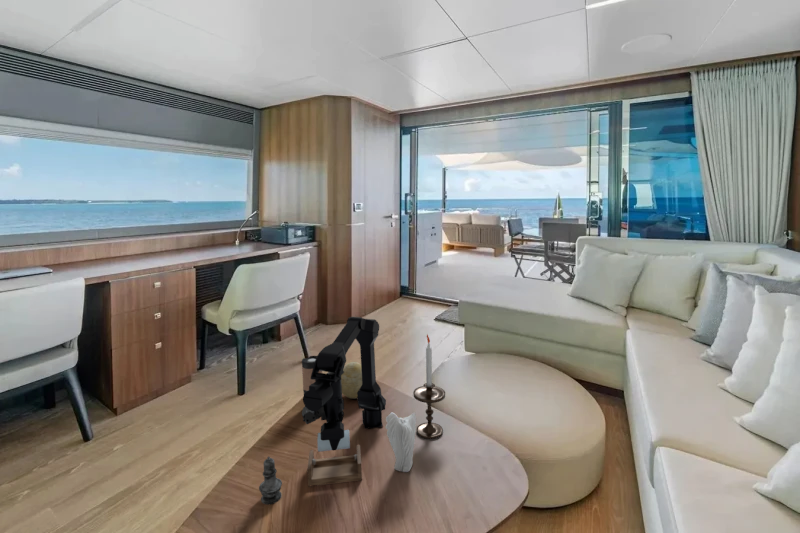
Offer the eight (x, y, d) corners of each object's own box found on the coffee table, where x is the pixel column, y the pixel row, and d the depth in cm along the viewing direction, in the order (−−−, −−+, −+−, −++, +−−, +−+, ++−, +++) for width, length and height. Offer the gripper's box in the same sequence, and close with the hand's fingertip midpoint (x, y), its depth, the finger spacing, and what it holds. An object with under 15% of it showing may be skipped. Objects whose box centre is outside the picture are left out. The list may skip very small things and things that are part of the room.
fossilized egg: (372, 390, 166) (370, 357, 164) (366, 404, 153) (365, 368, 151) (343, 389, 167) (341, 356, 165) (335, 404, 155) (334, 368, 153)
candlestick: (408, 428, 136) (406, 332, 131) (433, 420, 141) (432, 327, 136) (425, 444, 126) (423, 341, 121) (451, 434, 131) (451, 335, 127)
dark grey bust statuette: (261, 508, 100) (258, 466, 98) (258, 494, 105) (255, 453, 104) (284, 500, 103) (281, 458, 101) (280, 486, 108) (277, 447, 106)
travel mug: (321, 412, 148) (319, 362, 146) (302, 412, 148) (299, 363, 146) (325, 402, 156) (323, 355, 153) (307, 402, 156) (304, 355, 153)
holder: (360, 460, 119) (359, 444, 118) (361, 480, 110) (361, 463, 109) (310, 465, 117) (309, 450, 116) (308, 486, 108) (307, 469, 107)
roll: (349, 441, 115) (349, 426, 115) (350, 451, 110) (349, 435, 110) (319, 445, 114) (318, 429, 113) (318, 455, 109) (317, 439, 108)
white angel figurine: (420, 461, 118) (419, 406, 115) (412, 479, 110) (411, 420, 107) (394, 456, 120) (393, 402, 118) (385, 473, 113) (383, 415, 110)
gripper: (306, 382, 118) (308, 429, 120) (299, 413, 100) (302, 468, 102) (342, 379, 120) (344, 426, 122) (342, 409, 101) (345, 463, 103)
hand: (334, 444), depth 112 cm, fingers closed on roll, 5 cm apart
